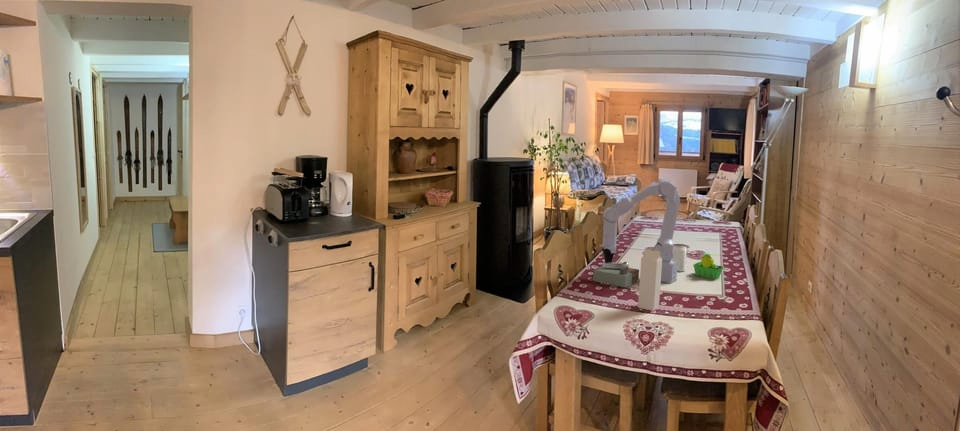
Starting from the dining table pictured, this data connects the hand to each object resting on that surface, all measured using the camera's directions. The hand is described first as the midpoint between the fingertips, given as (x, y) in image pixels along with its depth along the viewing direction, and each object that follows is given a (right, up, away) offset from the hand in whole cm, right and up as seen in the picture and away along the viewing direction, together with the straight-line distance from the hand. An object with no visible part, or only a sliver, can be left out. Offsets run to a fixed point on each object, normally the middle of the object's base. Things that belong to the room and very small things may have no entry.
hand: (608, 265), depth 244 cm
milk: (+7, -13, -35) cm, 38 cm away
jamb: (+5, -6, +1) cm, 8 cm away
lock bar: (+3, -1, -2) cm, 3 cm away
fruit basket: (+46, -6, +6) cm, 47 cm away
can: (+36, -4, +16) cm, 40 cm away
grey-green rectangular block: (+1, -7, -5) cm, 9 cm away
